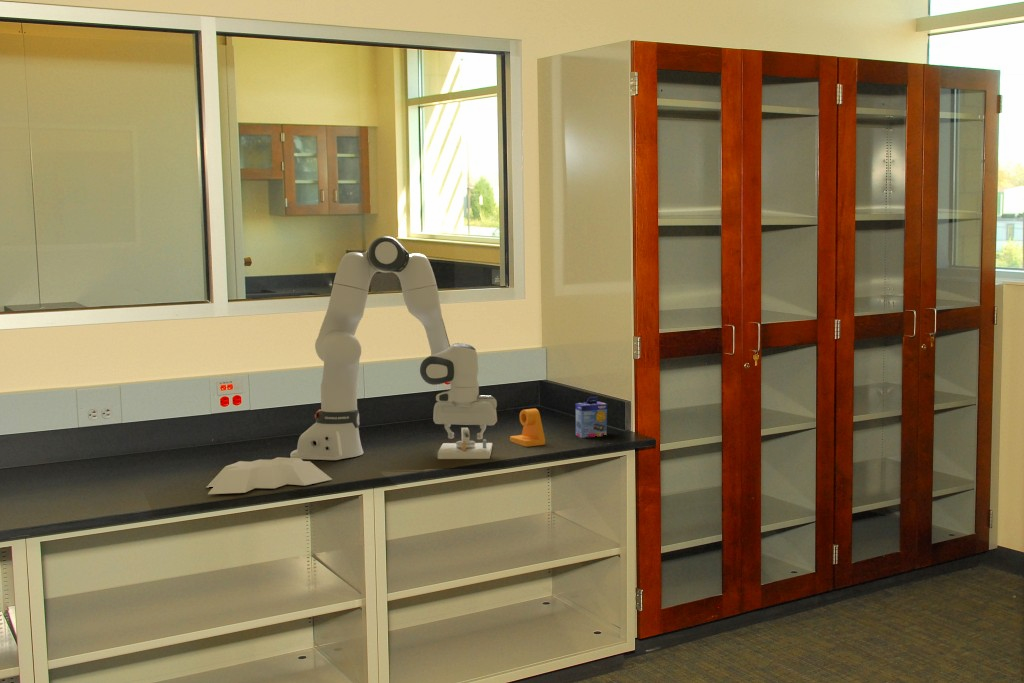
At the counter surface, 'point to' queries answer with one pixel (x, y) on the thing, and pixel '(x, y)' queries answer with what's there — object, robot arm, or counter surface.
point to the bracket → (530, 429)
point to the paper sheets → (266, 475)
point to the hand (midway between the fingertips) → (465, 438)
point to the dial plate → (465, 451)
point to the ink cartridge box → (591, 418)
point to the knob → (465, 439)
